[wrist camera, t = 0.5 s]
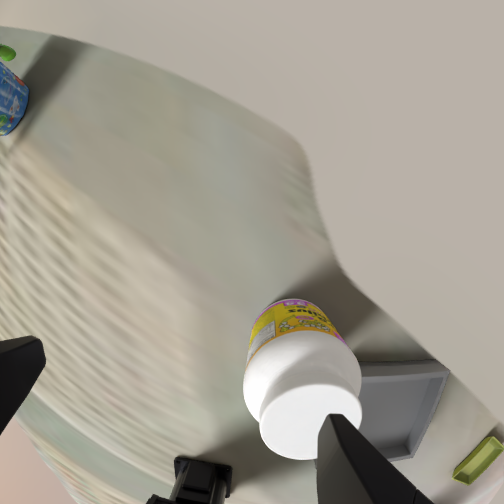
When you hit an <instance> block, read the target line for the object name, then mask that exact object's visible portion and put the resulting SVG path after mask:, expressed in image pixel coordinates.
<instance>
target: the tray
mask: <svg viewBox="0 0 504 504" xmlns="http://www.w3.org/2000/svg"><path fill="white" fill-rule="evenodd" d="M358 363H359V366H360V370H361V389H360V393H359V396H358V399H359V401H360V403H361V406H362V421H361V424H360V427H359V429H358V430H359V432H360V433H361V434H362V435H363V436H364V437H365V438H366V439H367V440H368V441H369V442H370V443H371V444H372V445H373V446H374V447H375V448H376V449H377V450H378V451H379V452H380V453H381V454H382V455H383V456H384V457H385V458H386V459H387V460H388V461H389V462H393V461H398V460H403V459H408V458H413V456H414V455H415V453H416V451H417V449H418V447H419V445H420V443H421V441H422V439H423V437H424V435H425V433H426V431H427V428H428V426H429V424H430V422H431V419H432V417H433V415H434V412H435V410H436V408H437V405H438V403H439V400H440V398H441V395H442V392H443V390H444V387H445V384H446V381H447V378H448V375H449V372H450V370H449V369H448V368H446V367H445V366H444V365H442V364H441V363H440V362H438V361H437V360H436V359H431V360H416V361H395V362H358ZM314 462H315V467H316V469H317V458H316V459H314Z"/></svg>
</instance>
